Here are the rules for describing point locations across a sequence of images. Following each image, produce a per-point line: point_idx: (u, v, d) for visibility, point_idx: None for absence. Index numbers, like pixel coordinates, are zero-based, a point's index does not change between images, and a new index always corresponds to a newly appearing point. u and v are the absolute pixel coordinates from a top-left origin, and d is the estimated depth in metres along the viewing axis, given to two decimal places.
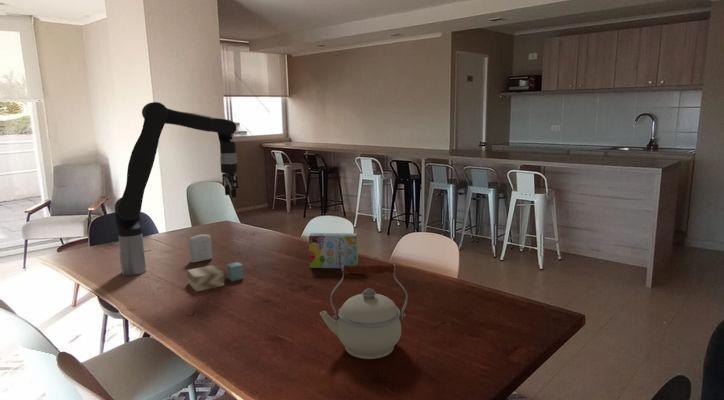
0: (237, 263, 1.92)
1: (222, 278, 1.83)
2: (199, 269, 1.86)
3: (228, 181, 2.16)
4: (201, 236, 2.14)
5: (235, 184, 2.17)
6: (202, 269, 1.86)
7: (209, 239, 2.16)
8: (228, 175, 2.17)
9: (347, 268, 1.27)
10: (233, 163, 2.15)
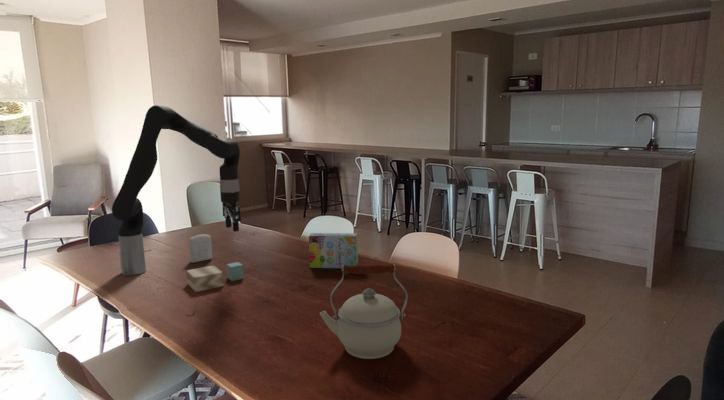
0: (237, 263, 1.92)
1: (221, 279, 1.82)
2: (198, 269, 1.85)
3: (229, 212, 1.84)
4: (201, 236, 2.14)
5: (237, 216, 1.84)
6: (202, 269, 1.85)
7: (209, 239, 2.16)
8: (229, 205, 1.84)
9: (347, 268, 1.27)
10: (235, 191, 1.83)
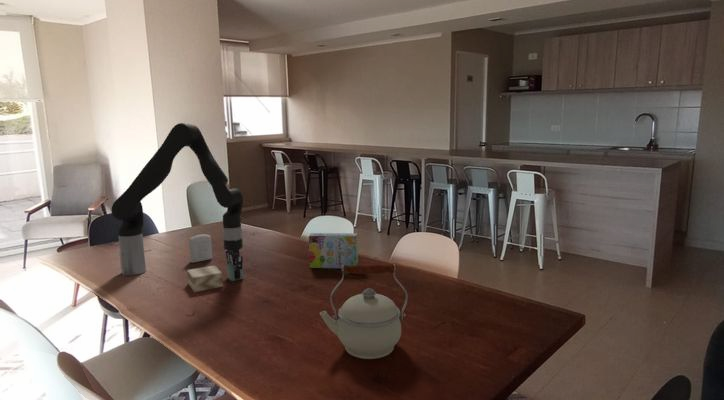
0: None
1: (221, 279, 1.82)
2: (198, 269, 1.85)
3: (232, 260, 1.87)
4: (201, 236, 2.14)
5: None
6: (202, 269, 1.85)
7: (209, 239, 2.16)
8: (232, 252, 1.88)
9: (347, 268, 1.27)
10: (238, 239, 1.86)
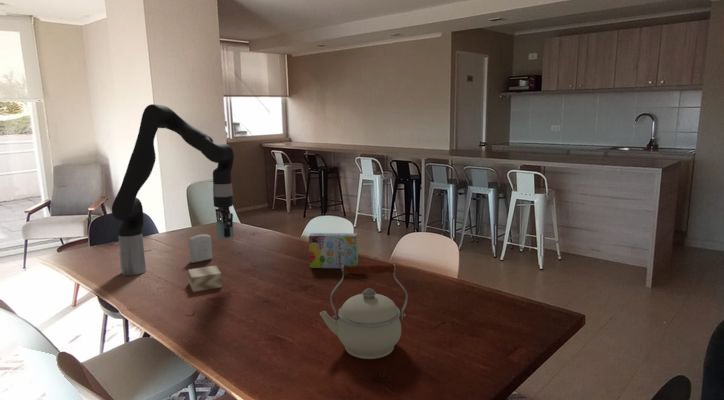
0: None
1: (220, 279, 1.81)
2: (199, 269, 1.86)
3: (222, 218, 1.83)
4: (201, 236, 2.14)
5: (229, 222, 1.84)
6: (203, 269, 1.86)
7: (209, 239, 2.16)
8: (222, 209, 1.83)
9: (347, 268, 1.27)
10: (228, 196, 1.82)
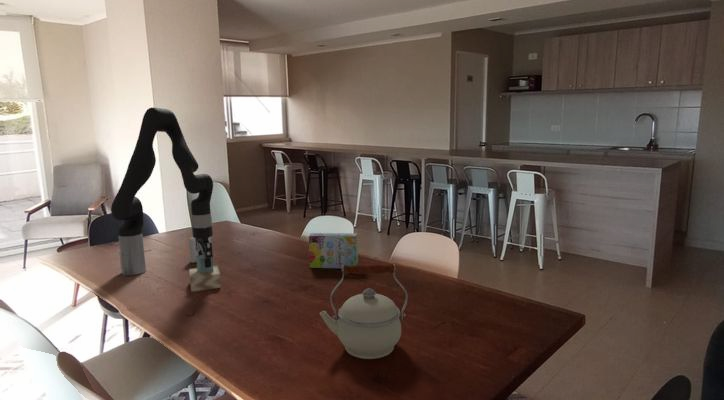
0: None
1: (219, 280, 1.81)
2: None
3: (201, 248, 1.79)
4: None
5: (210, 251, 1.80)
6: None
7: (209, 239, 2.16)
8: (201, 240, 1.80)
9: (347, 268, 1.27)
10: (207, 226, 1.78)
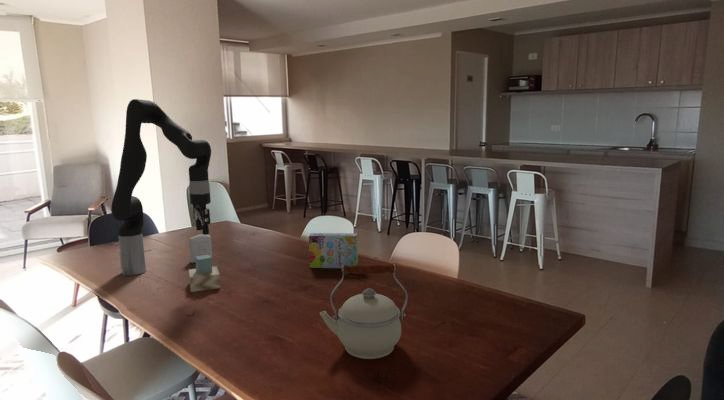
0: (206, 256, 1.83)
1: (218, 280, 1.80)
2: None
3: (199, 215, 1.77)
4: (201, 236, 2.14)
5: (207, 218, 1.77)
6: None
7: (209, 239, 2.16)
8: (199, 207, 1.77)
9: (347, 268, 1.27)
10: (205, 193, 1.76)
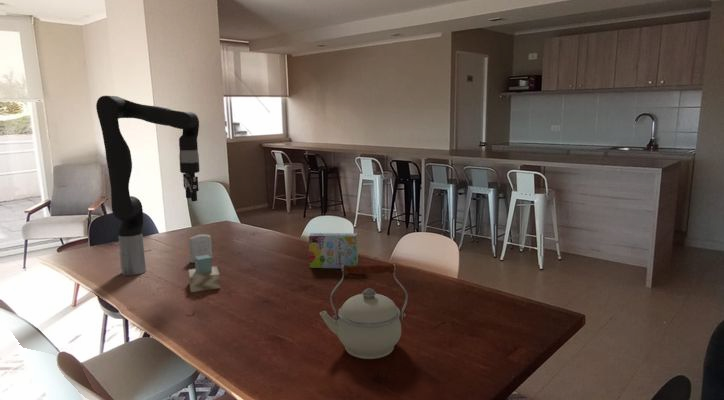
0: (206, 256, 1.83)
1: (218, 280, 1.80)
2: None
3: (188, 182, 1.88)
4: (201, 236, 2.14)
5: None
6: None
7: (209, 239, 2.16)
8: (188, 175, 1.89)
9: (347, 268, 1.27)
10: (194, 162, 1.87)
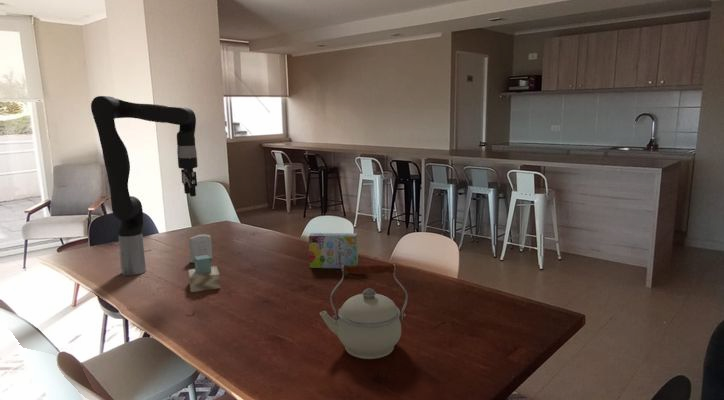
0: (205, 256, 1.83)
1: (218, 280, 1.80)
2: None
3: (186, 178, 1.90)
4: (201, 236, 2.14)
5: (194, 181, 1.90)
6: None
7: (209, 239, 2.16)
8: (186, 171, 1.90)
9: (347, 268, 1.27)
10: (192, 157, 1.89)
